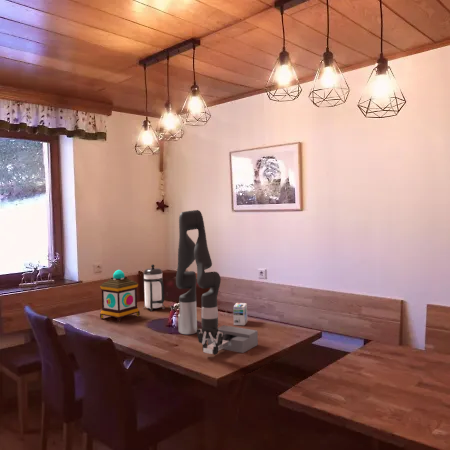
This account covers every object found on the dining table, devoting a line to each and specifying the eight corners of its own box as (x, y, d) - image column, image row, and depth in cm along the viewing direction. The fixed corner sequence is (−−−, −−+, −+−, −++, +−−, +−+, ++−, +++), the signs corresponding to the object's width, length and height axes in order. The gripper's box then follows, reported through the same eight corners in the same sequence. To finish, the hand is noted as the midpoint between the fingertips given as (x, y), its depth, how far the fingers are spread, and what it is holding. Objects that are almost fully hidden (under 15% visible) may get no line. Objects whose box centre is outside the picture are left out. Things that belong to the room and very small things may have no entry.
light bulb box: (244, 325, 251) (244, 307, 250) (233, 325, 252) (232, 306, 251) (247, 320, 261) (247, 302, 261) (236, 320, 262) (236, 302, 262)
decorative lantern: (96, 319, 272) (95, 270, 270) (121, 312, 288) (119, 266, 287) (118, 323, 260) (117, 273, 259) (143, 316, 277) (141, 268, 275)
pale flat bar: (203, 352, 199) (203, 347, 199) (220, 343, 211) (220, 339, 211) (212, 354, 196) (212, 349, 196) (229, 345, 208) (229, 341, 208)
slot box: (208, 346, 215) (207, 332, 215) (223, 338, 227) (223, 325, 227) (243, 353, 204) (242, 338, 204) (257, 344, 216) (257, 330, 216)
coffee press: (138, 311, 289) (137, 266, 288) (147, 306, 305) (145, 262, 303) (164, 312, 286) (163, 266, 285) (171, 306, 302) (170, 262, 301)
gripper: (191, 316, 199) (192, 353, 200) (218, 320, 192) (219, 358, 192) (201, 312, 206) (202, 348, 206) (227, 316, 198) (228, 353, 199)
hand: (210, 353), depth 199 cm, fingers closed on pale flat bar, 5 cm apart
